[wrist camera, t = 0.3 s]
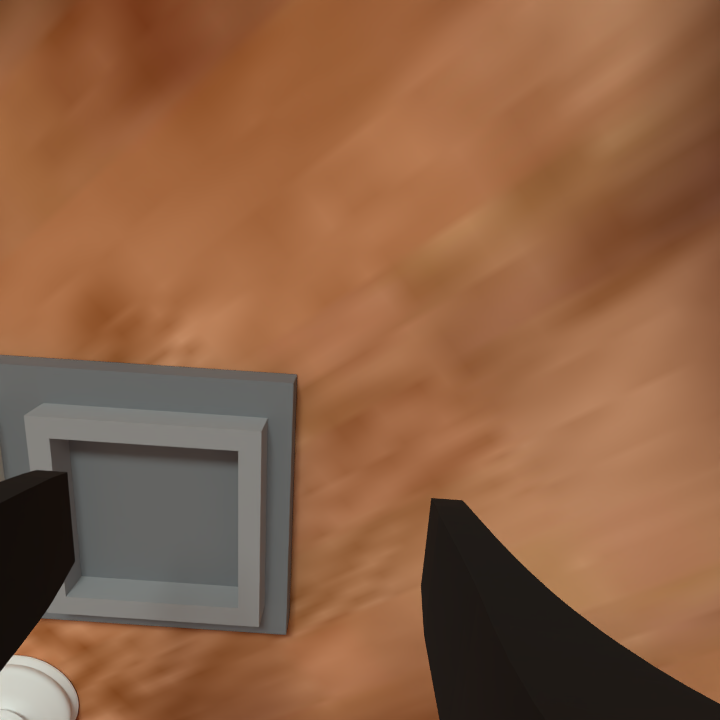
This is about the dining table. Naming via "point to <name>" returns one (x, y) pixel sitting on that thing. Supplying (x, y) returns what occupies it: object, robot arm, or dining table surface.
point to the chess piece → (35, 691)
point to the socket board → (162, 487)
